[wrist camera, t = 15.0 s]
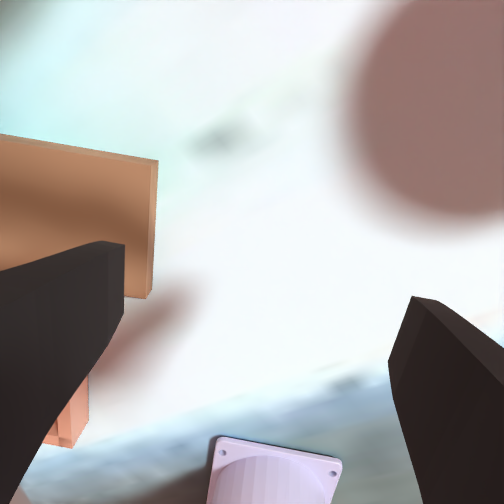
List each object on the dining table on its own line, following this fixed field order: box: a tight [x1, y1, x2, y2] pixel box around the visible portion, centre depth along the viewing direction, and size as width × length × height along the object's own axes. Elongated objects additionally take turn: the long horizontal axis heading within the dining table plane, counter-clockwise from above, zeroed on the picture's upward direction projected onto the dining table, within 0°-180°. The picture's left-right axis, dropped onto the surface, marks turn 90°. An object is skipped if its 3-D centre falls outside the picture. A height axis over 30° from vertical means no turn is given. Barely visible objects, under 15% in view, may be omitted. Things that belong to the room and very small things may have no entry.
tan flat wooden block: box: [0, 134, 158, 299], centre depth 21 cm, size 7×9×2 cm
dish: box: [42, 375, 89, 449], centre depth 24 cm, size 9×7×2 cm
